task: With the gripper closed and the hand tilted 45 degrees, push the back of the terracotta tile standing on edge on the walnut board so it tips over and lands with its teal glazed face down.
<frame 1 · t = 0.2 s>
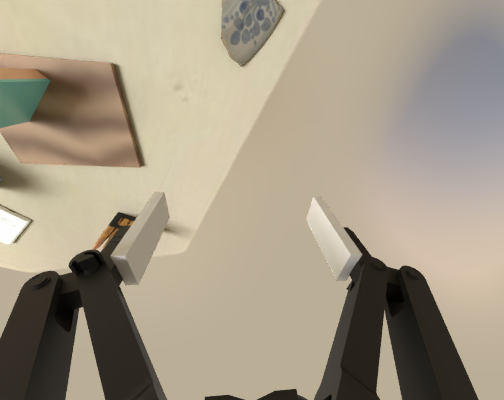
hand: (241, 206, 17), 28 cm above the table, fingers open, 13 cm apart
ceramic fragment: (242, 16, 30), on the table
tile: (32, 96, 33), point 1 cm above the table, touching board
ammunition clip: (138, 221, 52), on the table
external hard drive: (6, 221, 49), on the table
board: (64, 118, 36), on the table
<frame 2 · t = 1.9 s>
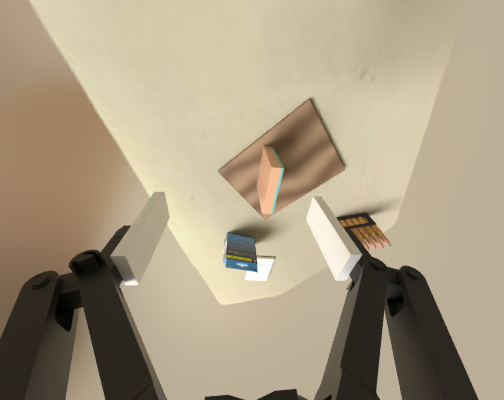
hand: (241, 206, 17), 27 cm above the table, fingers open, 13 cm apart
tile: (264, 167, 43), point 1 cm above the table, touching board
ammunition clip: (347, 217, 55), on the table
external hard drive: (259, 265, 66), on the table
label tape box: (239, 238, 57), on the table
board: (282, 169, 44), on the table
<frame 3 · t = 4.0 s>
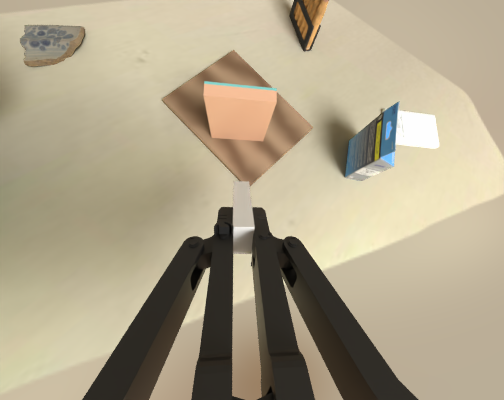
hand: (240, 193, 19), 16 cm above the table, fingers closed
ceramic fragment: (59, 50, 37), on the table
tile: (237, 134, 36), point 1 cm above the table, touching board
ammunition clip: (299, 33, 44), on the table
external hard drive: (405, 131, 43), on the table
label tape box: (353, 160, 39), on the table
board: (240, 116, 38), on the table
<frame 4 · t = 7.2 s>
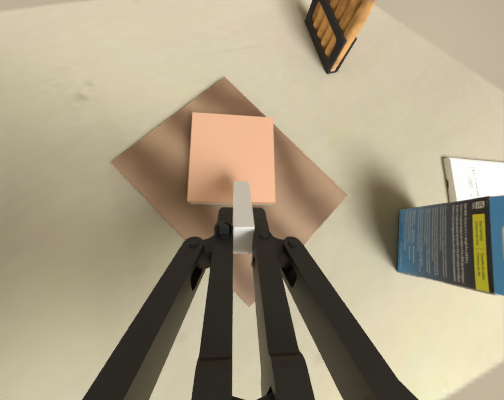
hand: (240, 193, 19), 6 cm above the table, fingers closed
tile: (232, 203, 22), point 2 cm above the table, tilted 90°, touching board
ammunition clip: (319, 47, 31), on the table
external hard drive: (475, 187, 30), on the table
label tape box: (406, 242, 26), on the table
board: (235, 181, 25), on the table
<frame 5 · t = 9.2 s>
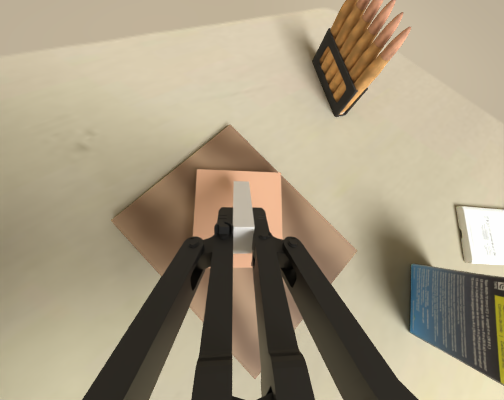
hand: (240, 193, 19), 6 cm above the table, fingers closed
tile: (237, 266, 21), point 2 cm above the table, tilted 90°, touching board
ammunition clip: (327, 88, 30), on the table
external hard drive: (489, 236, 29), on the table
label tape box: (419, 298, 25), on the table
board: (240, 236, 24), on the table
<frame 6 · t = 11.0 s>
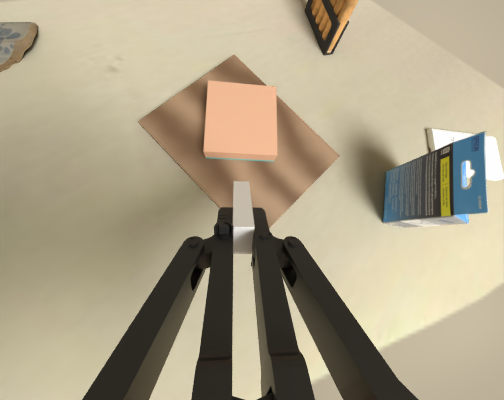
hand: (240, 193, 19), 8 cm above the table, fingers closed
ceramic fragment: (4, 55, 28), on the table
tile: (240, 156, 26), point 2 cm above the table, tilted 90°, touching board
ammunition clip: (317, 33, 35), on the table
external hard drive: (456, 157, 33), on the table
label tape box: (392, 199, 30), on the table
board: (242, 142, 29), on the table
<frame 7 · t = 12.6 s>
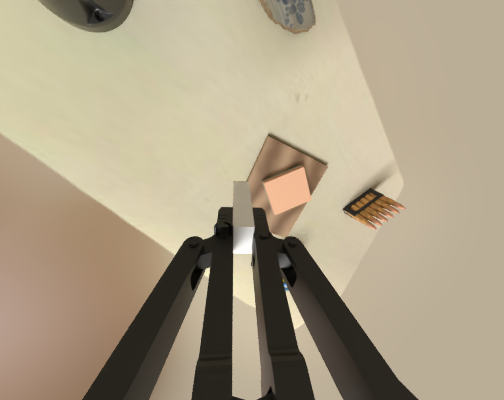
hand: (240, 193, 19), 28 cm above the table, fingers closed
ceramic fragment: (284, 8, 36), on the table
tile: (268, 198, 49), point 2 cm above the table, tilted 90°, touching board
ammunition clip: (356, 200, 58), on the table
board: (277, 192, 51), on the table
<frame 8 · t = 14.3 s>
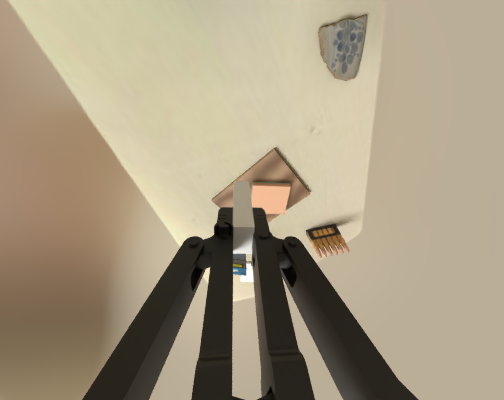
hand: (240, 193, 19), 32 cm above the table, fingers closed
ceramic fragment: (337, 51, 39), on the table
tile: (251, 198, 55), point 2 cm above the table, tilted 90°, touching board
ammunition clip: (320, 228, 68), on the table
external hard drive: (251, 269, 80), on the table
label tape box: (233, 248, 71), on the table
board: (261, 195, 58), on the table
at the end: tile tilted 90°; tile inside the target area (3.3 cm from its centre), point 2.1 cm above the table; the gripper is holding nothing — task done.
